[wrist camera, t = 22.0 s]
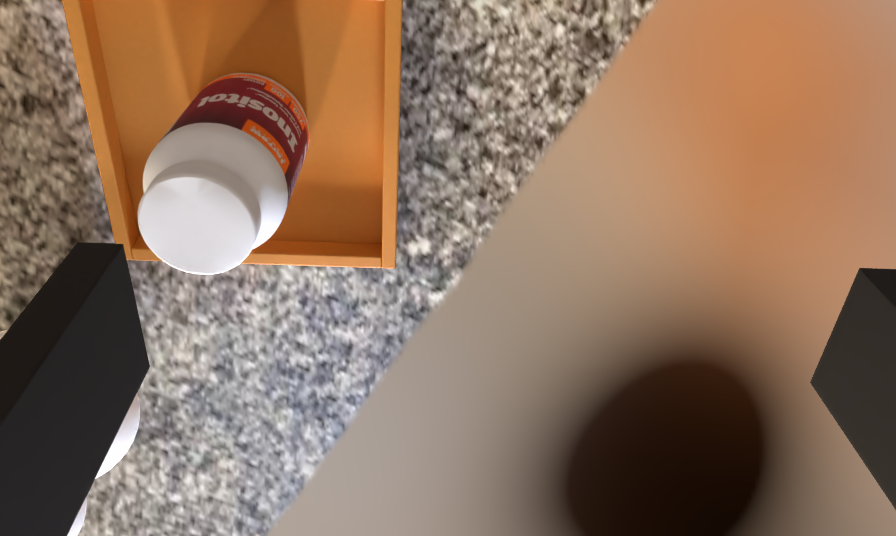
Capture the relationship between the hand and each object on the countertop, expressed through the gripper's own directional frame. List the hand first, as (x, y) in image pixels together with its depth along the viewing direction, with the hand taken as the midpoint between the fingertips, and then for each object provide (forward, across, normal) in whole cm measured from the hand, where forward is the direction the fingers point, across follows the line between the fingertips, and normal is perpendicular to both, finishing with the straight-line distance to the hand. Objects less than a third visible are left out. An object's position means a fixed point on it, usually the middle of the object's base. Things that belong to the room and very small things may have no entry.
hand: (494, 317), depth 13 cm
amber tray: (+26, -10, -7) cm, 29 cm away
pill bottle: (+26, -10, -7) cm, 29 cm away
